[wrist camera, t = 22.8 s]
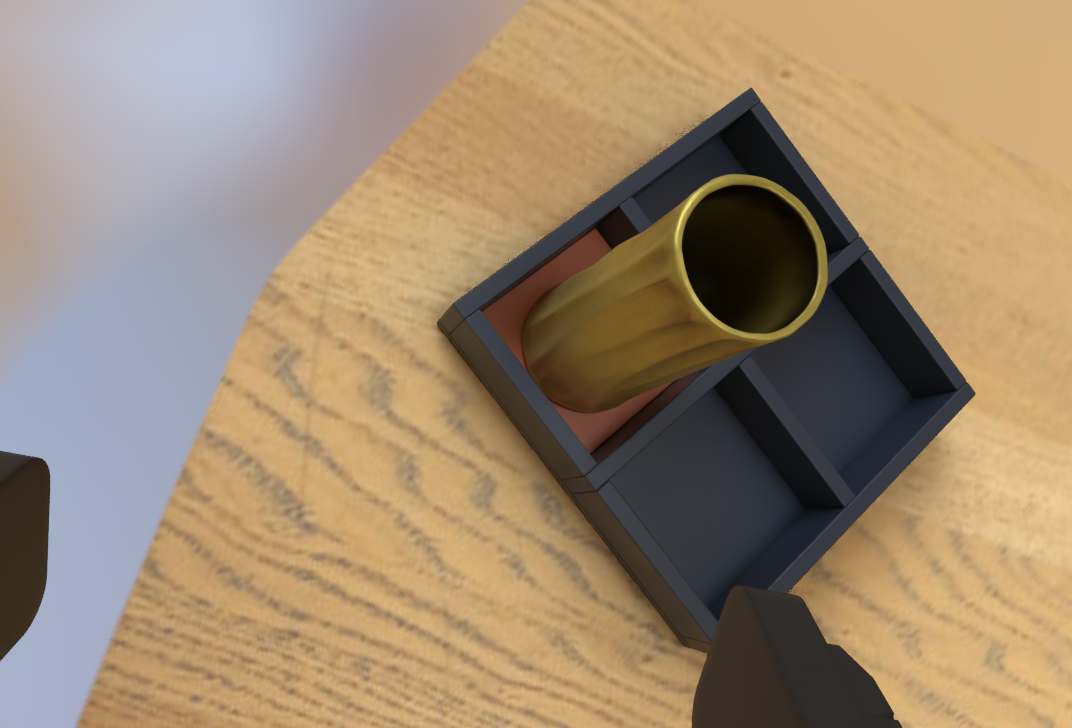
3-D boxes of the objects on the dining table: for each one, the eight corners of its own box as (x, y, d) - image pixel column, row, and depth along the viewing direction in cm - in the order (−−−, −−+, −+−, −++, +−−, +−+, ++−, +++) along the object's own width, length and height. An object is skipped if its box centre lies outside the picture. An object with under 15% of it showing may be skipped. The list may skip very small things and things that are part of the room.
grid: (435, 322, 37) (452, 303, 34) (714, 120, 44) (751, 86, 40) (684, 647, 38) (724, 660, 35) (923, 403, 44) (977, 393, 41)
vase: (669, 332, 40) (871, 239, 26) (605, 440, 38) (788, 399, 24) (566, 255, 39) (720, 118, 25) (495, 362, 37) (621, 274, 24)
